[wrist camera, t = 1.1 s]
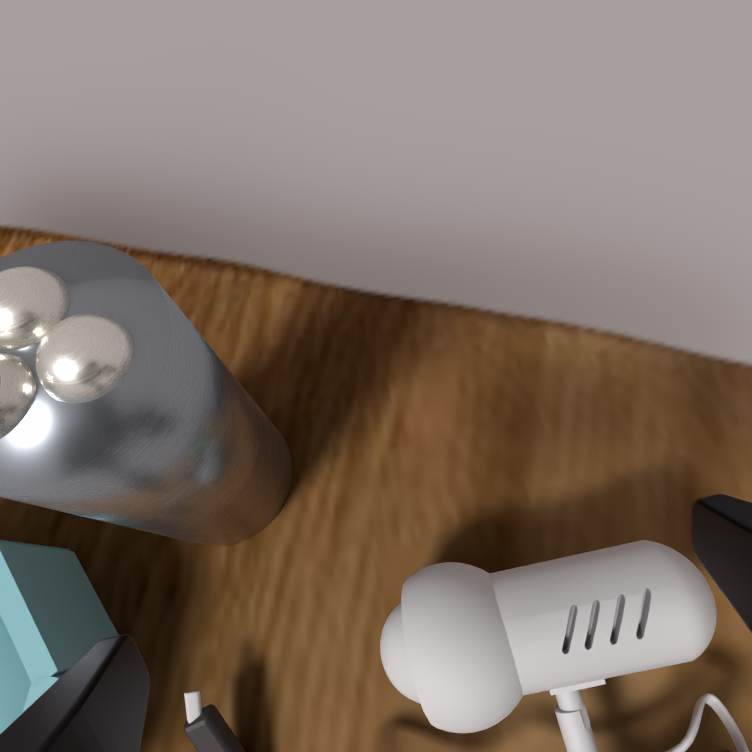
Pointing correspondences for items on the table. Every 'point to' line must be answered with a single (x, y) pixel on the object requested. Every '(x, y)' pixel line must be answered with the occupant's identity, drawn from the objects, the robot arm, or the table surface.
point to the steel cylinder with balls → (126, 404)
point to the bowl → (43, 621)
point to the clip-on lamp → (532, 639)
